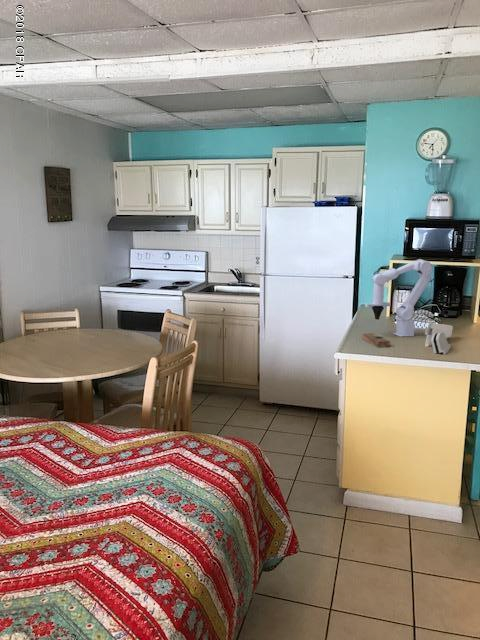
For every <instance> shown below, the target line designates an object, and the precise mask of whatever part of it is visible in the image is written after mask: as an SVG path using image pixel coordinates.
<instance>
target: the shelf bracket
mask: <svg viewBox="0 0 480 640" xmlns="http://www.w3.org/2000/svg"><path fill="white" fill-rule="evenodd" d="M453 328H454V327H453V325H449V324H442V323H434V322H433V323H431V322H428V326H427V327H425V330H424V335H426V337H425V342H424V343H425V345H424V346H425V347H430V345H431V344H432V342H431V339H432V336H433V335H434V334H436V333H444V334H445V336H446V339H447V340H448V338H451V337H452V333H453Z"/></svg>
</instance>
